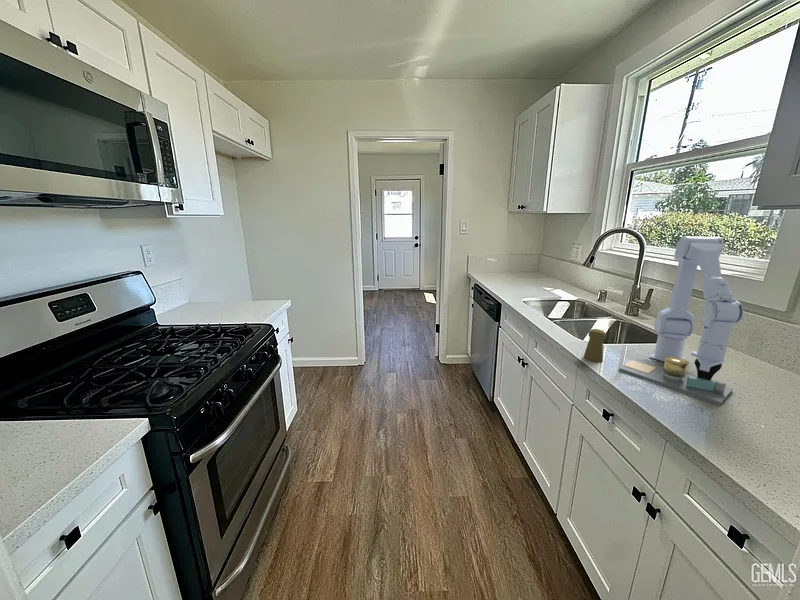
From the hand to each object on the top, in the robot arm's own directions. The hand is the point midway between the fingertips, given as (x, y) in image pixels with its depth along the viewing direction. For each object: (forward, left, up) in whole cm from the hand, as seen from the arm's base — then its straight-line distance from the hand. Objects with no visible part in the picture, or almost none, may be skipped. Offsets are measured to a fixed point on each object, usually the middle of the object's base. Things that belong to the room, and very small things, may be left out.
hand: (702, 384), depth 97 cm
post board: (-1, -7, -2) cm, 7 cm away
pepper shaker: (+3, -29, -2) cm, 29 cm away
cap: (-1, -7, +1) cm, 7 cm away
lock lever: (+1, +1, -1) cm, 1 cm away
